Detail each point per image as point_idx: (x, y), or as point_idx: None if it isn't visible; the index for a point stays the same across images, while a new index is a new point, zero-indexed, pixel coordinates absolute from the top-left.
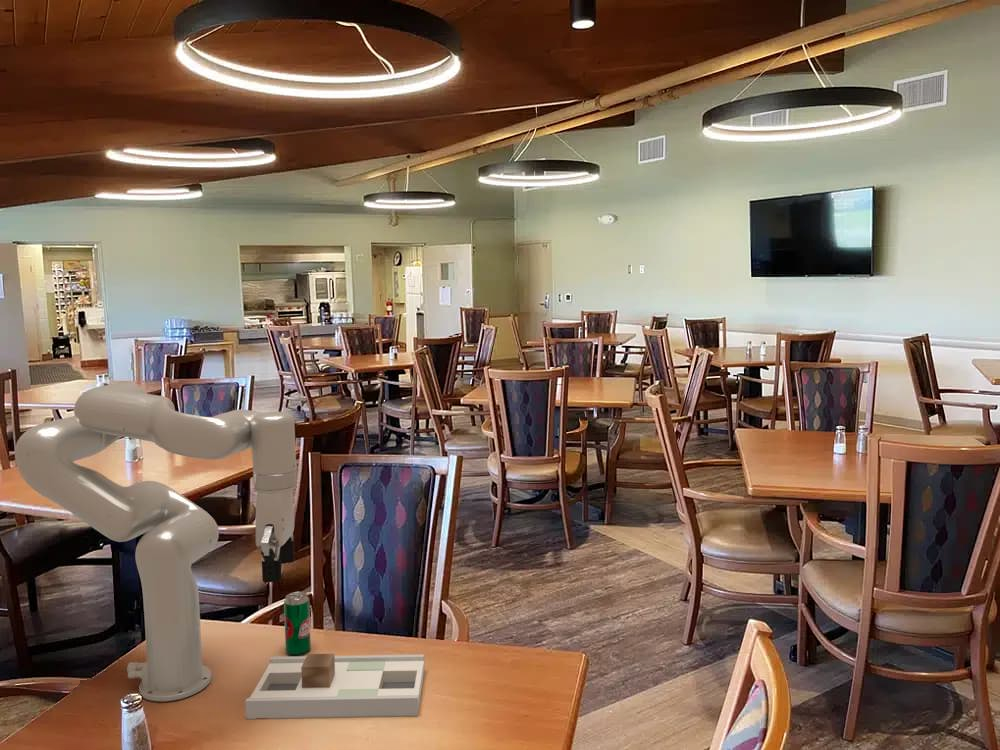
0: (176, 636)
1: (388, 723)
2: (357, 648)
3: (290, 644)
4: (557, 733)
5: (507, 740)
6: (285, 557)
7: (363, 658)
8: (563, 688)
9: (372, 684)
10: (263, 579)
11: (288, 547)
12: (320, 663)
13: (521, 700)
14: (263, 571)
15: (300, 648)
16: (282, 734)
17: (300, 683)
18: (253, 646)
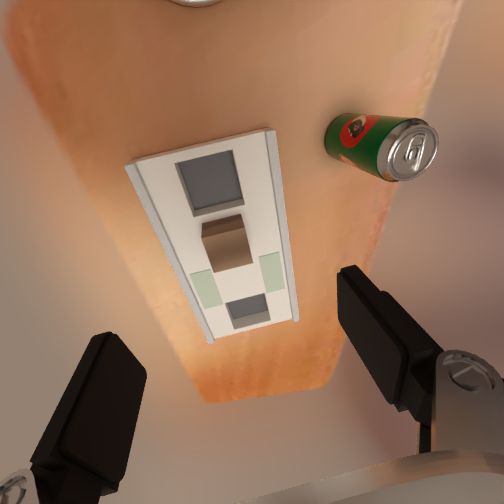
0: None
1: (188, 313)
2: (346, 222)
3: (334, 135)
4: (213, 400)
5: (195, 383)
6: (349, 315)
7: (285, 268)
8: (274, 390)
9: (232, 294)
10: (91, 345)
11: (376, 370)
12: (219, 258)
13: (252, 376)
14: (74, 384)
15: (331, 152)
16: (123, 227)
17: (213, 215)
18: (367, 23)
